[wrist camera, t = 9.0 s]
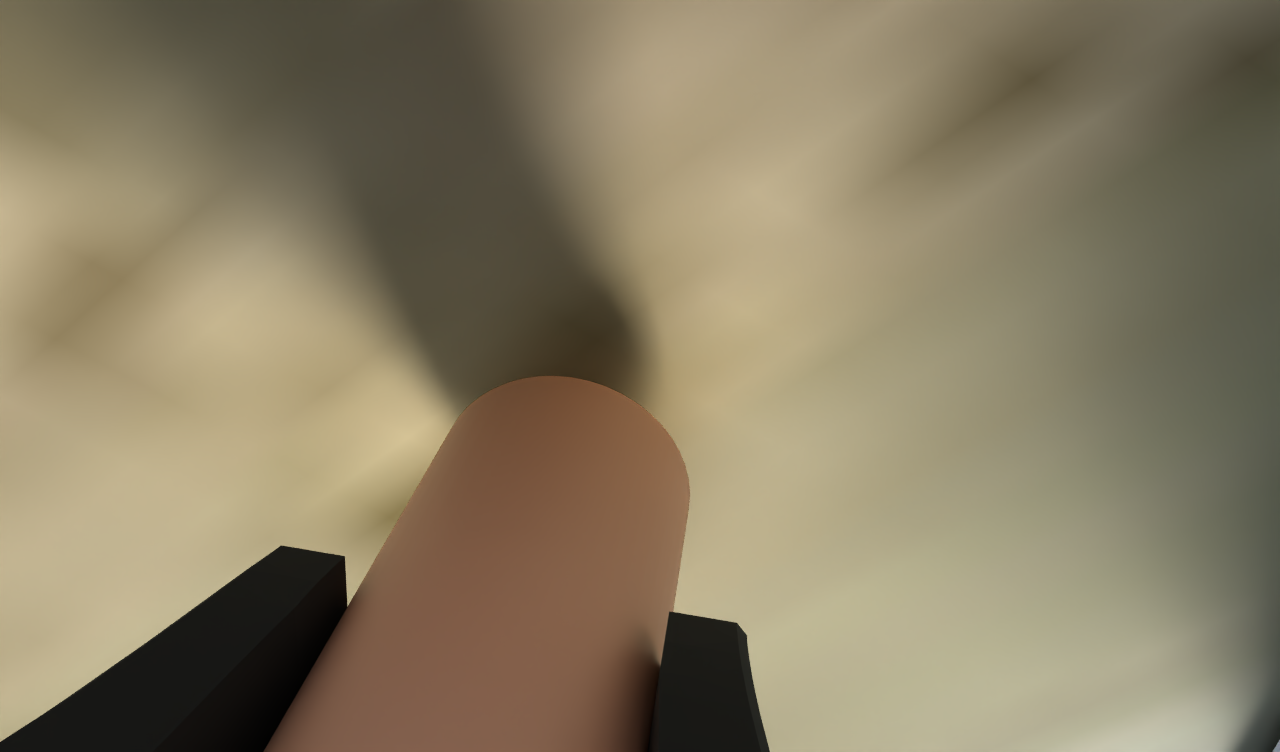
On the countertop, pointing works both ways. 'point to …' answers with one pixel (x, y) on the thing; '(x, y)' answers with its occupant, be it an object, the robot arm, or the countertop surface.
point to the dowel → (513, 588)
